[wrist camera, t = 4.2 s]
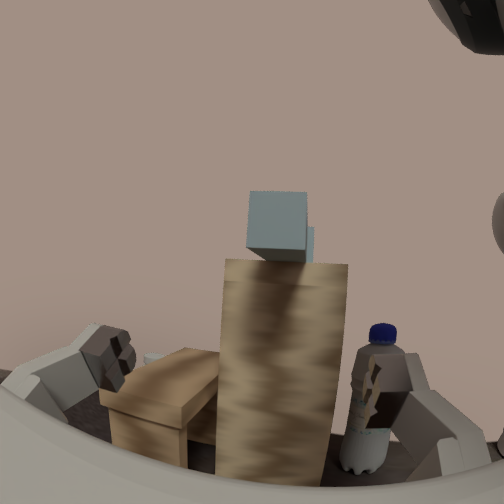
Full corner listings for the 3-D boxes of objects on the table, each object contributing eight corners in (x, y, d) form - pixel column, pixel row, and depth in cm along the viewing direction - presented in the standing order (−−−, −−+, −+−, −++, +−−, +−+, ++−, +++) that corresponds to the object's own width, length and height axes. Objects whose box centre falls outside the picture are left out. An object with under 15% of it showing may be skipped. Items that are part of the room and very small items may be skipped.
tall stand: (315, 447, 36) (334, 272, 39) (315, 504, 23) (348, 264, 26) (241, 440, 39) (252, 268, 41) (214, 492, 25) (225, 258, 28)
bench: (234, 440, 38) (239, 354, 40) (185, 523, 19) (181, 407, 20) (184, 430, 40) (185, 347, 41) (114, 498, 20) (98, 384, 22)
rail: (311, 271, 40) (313, 234, 40) (318, 250, 17) (319, 169, 18) (274, 269, 41) (276, 232, 41) (233, 246, 18) (239, 168, 19)
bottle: (326, 461, 32) (345, 321, 34) (364, 450, 34) (385, 319, 36) (353, 485, 26) (382, 328, 28) (393, 469, 28) (422, 324, 30)
